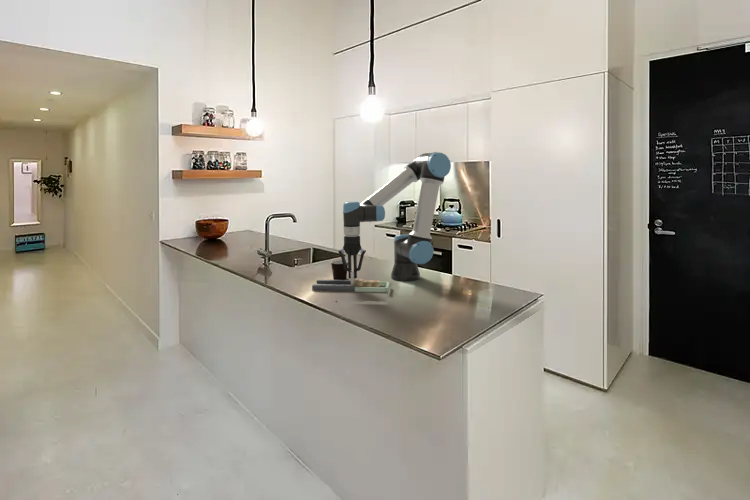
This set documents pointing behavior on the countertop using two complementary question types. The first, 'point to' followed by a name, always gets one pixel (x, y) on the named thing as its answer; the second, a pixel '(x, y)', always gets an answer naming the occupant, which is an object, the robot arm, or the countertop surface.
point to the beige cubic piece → (375, 283)
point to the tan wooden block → (366, 283)
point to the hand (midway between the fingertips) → (352, 285)
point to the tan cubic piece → (358, 282)
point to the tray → (374, 288)
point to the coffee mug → (339, 270)
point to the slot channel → (333, 285)
